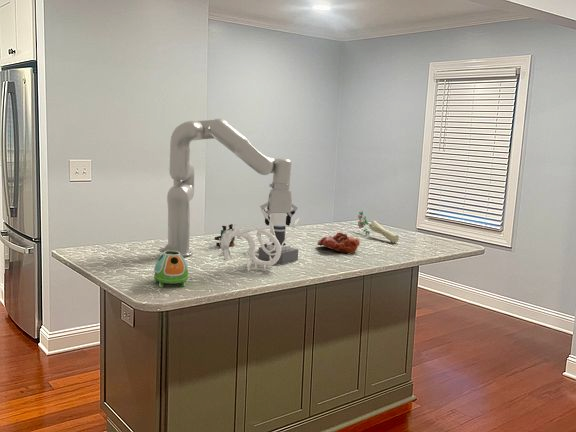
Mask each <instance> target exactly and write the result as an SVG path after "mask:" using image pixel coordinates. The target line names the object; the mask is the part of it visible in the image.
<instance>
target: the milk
mask: <svg viewBox="0 0 576 432" xmlns="http://www.w3.org/2000/svg"><path fill="white" fill-rule="evenodd" d="M286 216H287V214H286V213H271V214H270V215H269V217H270V222H271V224H272V226H273V228H274V226H276V225H281V226H285V232H286V231H287V230H286V227H287V226H286ZM271 224H270V223H269V233H271V234H272V235H273V229H272V226H271ZM268 239H269V242H273V241H272V240H271V239H270V238H268Z"/></svg>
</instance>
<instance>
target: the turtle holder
mask: <svg viewBox="0 0 576 432" xmlns="http://www.w3.org/2000/svg"><path fill="white" fill-rule="evenodd" d="M169 253H172V254H173V255H170V254H169ZM153 271H154V274H153V277H154V283H158V287H159V288H163V287H164V284H181V285H180V286H181V287H182V286H183V287H182V288H184V287H186V282H185V281H187V280H188V279H189V267H188V263H187V261H186V259H185V257H182V255H181V254H180V252H178V251H164V252H162V253H161V254H160V255H159V256H158V258H157V261H156V263H155V266H154V269H153Z"/></svg>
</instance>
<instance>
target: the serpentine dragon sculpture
mask: <svg viewBox="0 0 576 432" xmlns="http://www.w3.org/2000/svg"><path fill="white" fill-rule="evenodd" d="M265 211H266V210H265ZM265 211H264V210H263V209H262V210H261V212H262V215H263V217H264V219H265V218H266V219H268V214H267V213H266V212H265ZM299 220H300V217H298V219H295V221H294V222H293V224H292V226H291V227H292V228H290V230H289V232H288V233H287V234H286V235H285V240H284V242H286V240H287V239H288V237H289V235H290V234H291V232H292V230H294V229H295V228H296V226H298V223H299ZM268 221H269V219H268ZM269 222H270V221H269ZM270 224H271V222H270V223H269V225H270ZM271 226H272V224H271ZM236 227H237V226H236V224H233V228H232V229H234V230H233V231H232V229H230V230H231V231H230V230H228V229H226V230H228V231H226V230H225V231H226V233H223V235H222V236H223V237H222V238H221V240H220V238H219V240H218V241H219V242H218V243H219V244H220V243H221V245H219V246H220V249H221V251H222V252H221V253H220V254H219V255H218V257H224V261H225V262H229V260H232V255H231V251H230V245H229V244H230V242H231V239H232V238H233V237H235V238H237V239H238V240H243V239H245V240H246V241H247V243H248V248H247V252H246V254H249V255H248V256H249V259H248V262H247V265H246V267H247V272H249V271H250V269H251V268H250V267H251V266H252V265H251V264H252V263H253V265H255V268H256V269H257V268H258V267H257V266H261V267H264V270H266V267H269V268H270V269H271V268H272V269H273V267H272V266H274V265H275V264H277V263H276V262H277V261H278V260H279V258H280V256H281V247H282V246H283V244H284V242H283V243H282V245H280V243H279V241H278V240H277V238H276V236H275V232H274V228H273V226H272V229H273V232H274V235H272V234H271V233H270V231H267V230H265V229H262V228H260V229H258V228H249V229H246V230H243V229H241V227H240V228H239V229H237V228H236ZM256 230H257V231H256ZM225 231H224V232H225ZM253 231H256V237H257V240H258V243H259V245H260V247H262V249H263V250H264V251H265V252H266V253H267V254H268V255H270V261H267V260H262V259H259V258H257V257H256V256H258V255H259V254H258V253H257V252H255V250H256V242H255V240H254V238H253V236H251V235H250V233H251V232H253ZM262 235H264V236H265V237H267V238H268V239H271V240H272V241H273V242H274V244H275V245H274V248H273V249H272V250H270V251H269V250H267V249H266V248H265V246H264V244H265V243H264V242H263V239H262ZM232 240H233V239H232ZM275 247H276V253H274V254H271V253H269V252H272V251H273V250H274V249H275ZM271 255H275V256H274V258H273V259H272V258H271ZM229 258H230V259H229Z"/></svg>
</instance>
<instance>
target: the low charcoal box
mask: <svg viewBox="0 0 576 432" xmlns="http://www.w3.org/2000/svg"><path fill="white" fill-rule="evenodd" d="M263 244H264V246H265V248H266V249H267V250H269V251H270V250H272V249H273V248H274V245H273V242H265V243H263ZM291 246H292V245H291V243H289V242H286V241H285V245H283V246H282V247H281V256H280V258H279V260H278V261H277V262H276V263H275V264H280V265H284V264H289V263H292V261H293V262H296V261H298V260H299V249H298V248H295V247H291ZM269 253H271V254H274V253H276V247H275V249H274V250H273V251H272V252H269ZM257 254H259V255H257V256H258V258H257V259H259V260H262V261H270V255H268V254H267V253H266V252H265V251H264V250H263V249H262V247H261V246H260V247H258V253H257ZM274 256H275V255H271V258H272V259H273V258H274ZM288 262H289V263H288Z"/></svg>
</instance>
